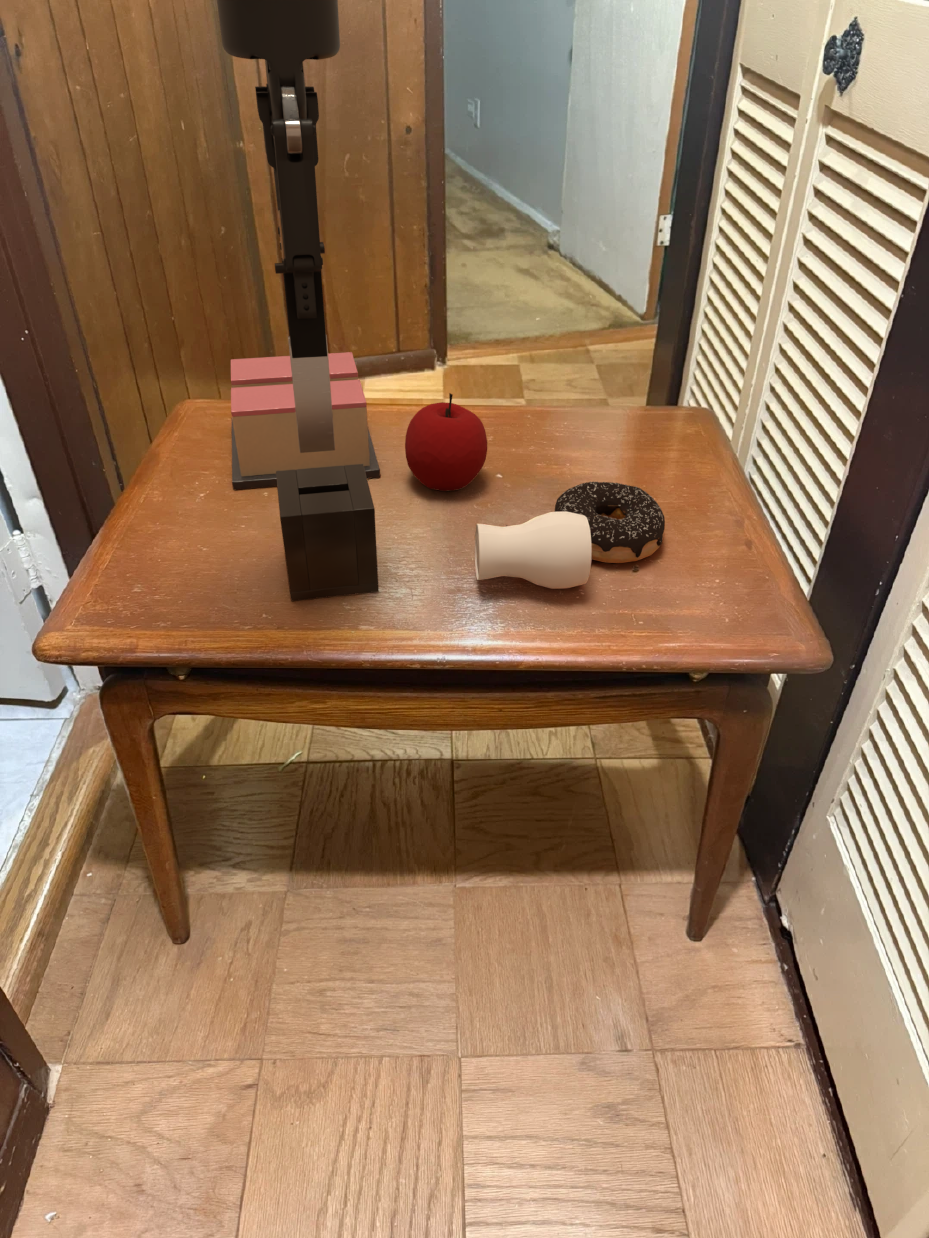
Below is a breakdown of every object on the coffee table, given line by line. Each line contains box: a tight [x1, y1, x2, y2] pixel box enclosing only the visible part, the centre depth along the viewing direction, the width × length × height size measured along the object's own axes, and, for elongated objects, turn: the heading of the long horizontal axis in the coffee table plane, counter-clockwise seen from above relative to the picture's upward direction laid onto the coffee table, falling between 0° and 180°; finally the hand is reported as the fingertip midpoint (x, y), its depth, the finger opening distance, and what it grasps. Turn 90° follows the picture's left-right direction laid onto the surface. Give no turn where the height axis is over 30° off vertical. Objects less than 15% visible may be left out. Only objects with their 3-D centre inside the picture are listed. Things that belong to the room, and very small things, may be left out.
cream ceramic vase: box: [474, 511, 592, 590], centre depth 79 cm, size 7×7×10 cm
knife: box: [277, 210, 335, 453], centre depth 68 cm, size 3×2×19 cm, turn 102°
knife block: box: [276, 464, 380, 602], centre depth 79 cm, size 8×8×9 cm
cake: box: [230, 351, 381, 491], centre depth 98 cm, size 16×16×9 cm
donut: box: [553, 481, 666, 564], centre depth 87 cm, size 11×12×4 cm
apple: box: [404, 392, 488, 492], centre depth 93 cm, size 9×9×10 cm
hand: (308, 348), depth 69 cm, fingers closed on knife, 2 cm apart
